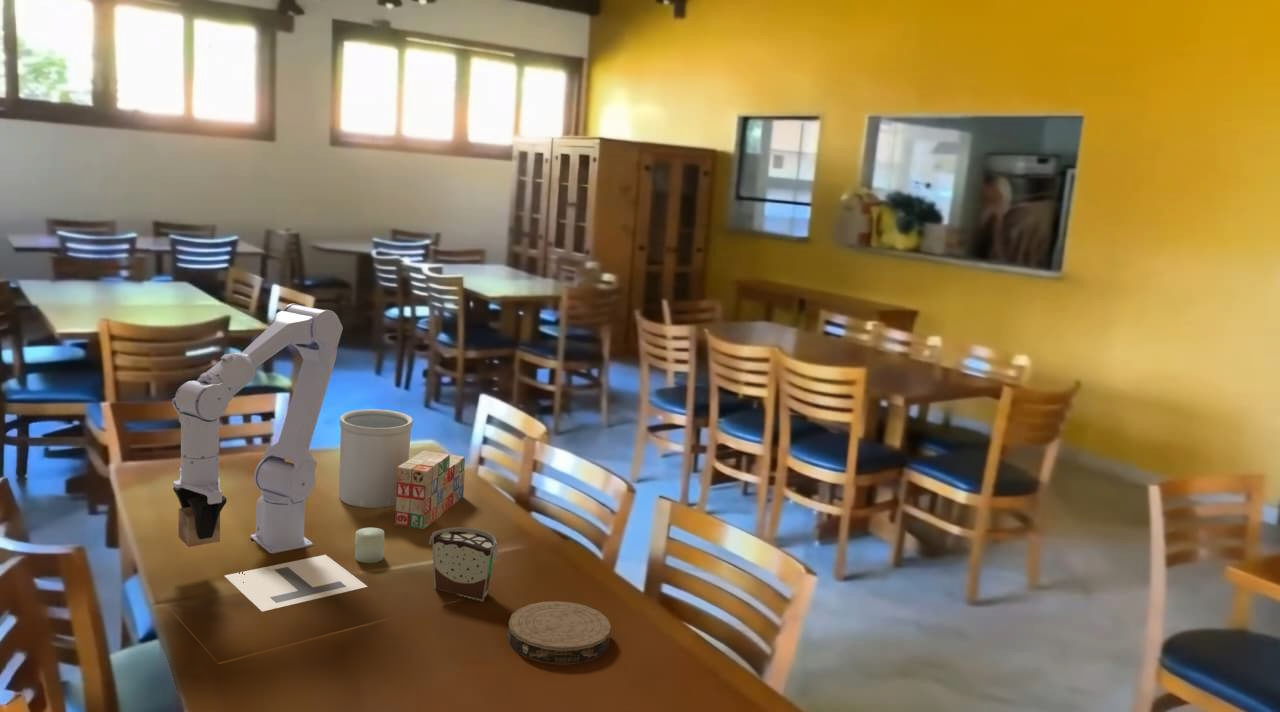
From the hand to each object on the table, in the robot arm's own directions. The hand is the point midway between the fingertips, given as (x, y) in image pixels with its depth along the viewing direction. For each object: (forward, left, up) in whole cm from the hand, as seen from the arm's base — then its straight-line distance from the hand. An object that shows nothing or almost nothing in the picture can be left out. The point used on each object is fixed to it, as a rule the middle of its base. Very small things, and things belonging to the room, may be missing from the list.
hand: (199, 532), depth 166 cm
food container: (+28, +35, -8) cm, 45 cm away
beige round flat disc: (+51, +37, -8) cm, 64 cm away
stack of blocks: (-9, +50, -8) cm, 51 cm away
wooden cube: (0, 0, -1) cm, 1 cm away
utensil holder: (-21, +43, -8) cm, 48 cm away
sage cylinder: (+8, +27, -8) cm, 29 cm away
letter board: (+11, +12, -8) cm, 18 cm away
